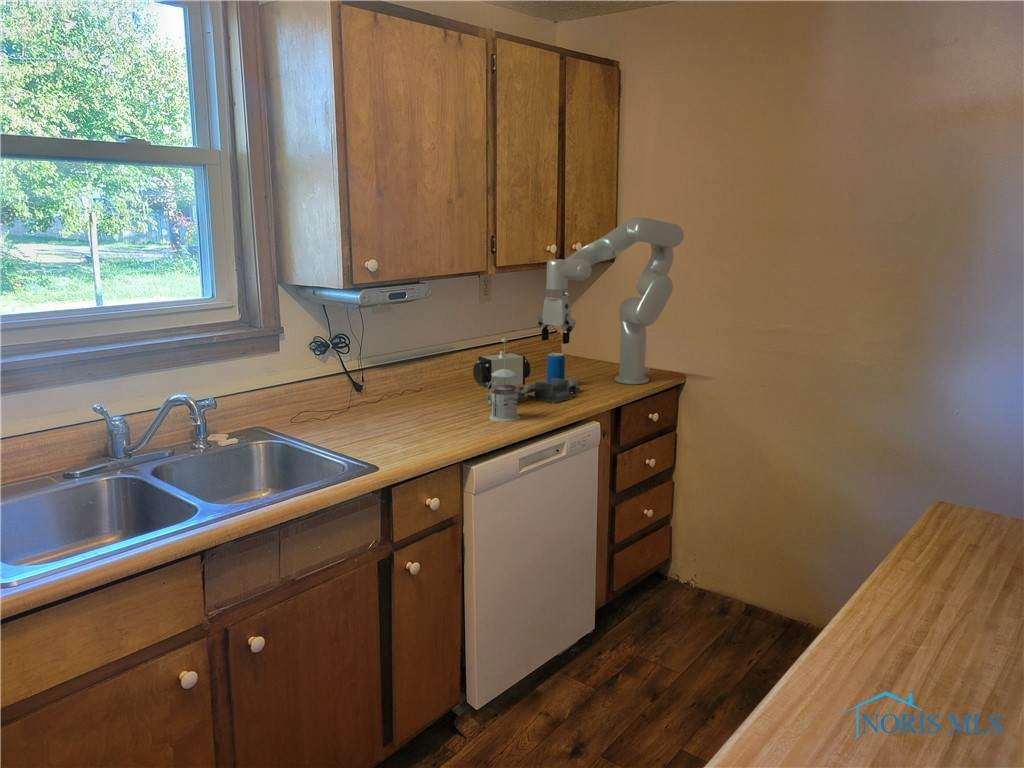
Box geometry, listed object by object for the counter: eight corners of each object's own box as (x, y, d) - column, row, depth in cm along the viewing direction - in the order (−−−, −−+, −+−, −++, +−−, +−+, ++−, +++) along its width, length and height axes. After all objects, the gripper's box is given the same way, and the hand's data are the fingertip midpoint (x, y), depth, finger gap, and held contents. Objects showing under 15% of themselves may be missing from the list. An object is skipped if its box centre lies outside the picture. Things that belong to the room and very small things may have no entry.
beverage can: (547, 384, 282) (547, 352, 279) (564, 384, 281) (565, 352, 278) (546, 388, 275) (546, 355, 273) (564, 388, 275) (564, 356, 272)
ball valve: (517, 397, 261) (518, 346, 257) (530, 403, 254) (531, 350, 250) (471, 404, 252) (470, 351, 248) (483, 409, 245) (482, 355, 241)
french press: (526, 417, 236) (527, 338, 230) (499, 424, 228) (499, 342, 222) (504, 411, 243) (505, 334, 237) (477, 418, 235) (477, 338, 229)
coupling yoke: (555, 387, 276) (555, 371, 275) (588, 394, 267) (588, 377, 265) (510, 399, 259) (510, 381, 258) (543, 406, 249) (543, 388, 248)
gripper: (582, 295, 268) (580, 343, 271) (545, 291, 279) (543, 337, 283) (569, 297, 262) (567, 346, 266) (531, 293, 274) (530, 340, 277)
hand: (555, 341), depth 274 cm, fingers open, 9 cm apart
